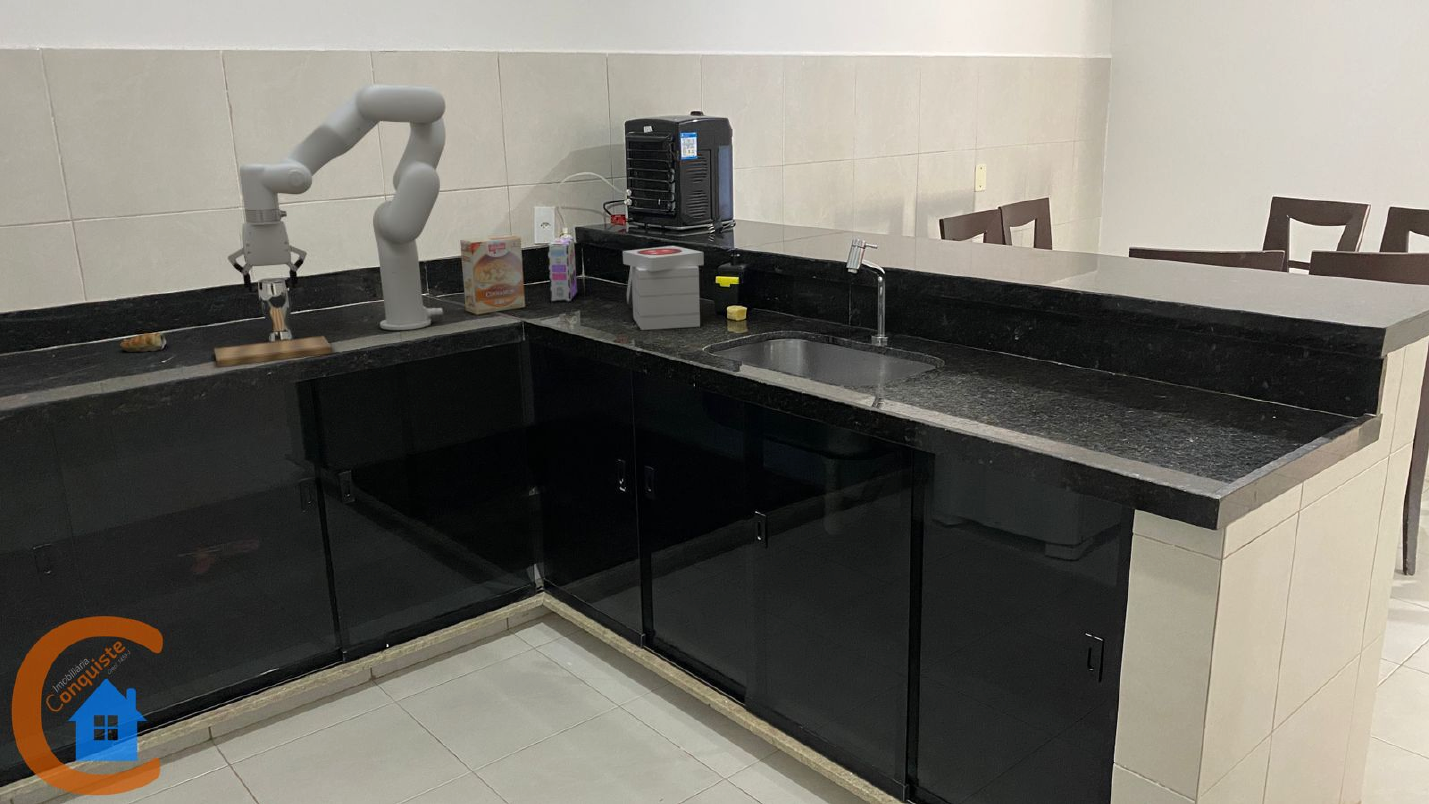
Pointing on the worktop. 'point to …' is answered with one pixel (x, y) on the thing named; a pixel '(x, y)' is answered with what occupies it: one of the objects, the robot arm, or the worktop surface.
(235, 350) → the serving board
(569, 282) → the candy box
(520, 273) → the coffeecake box
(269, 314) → the beer glass
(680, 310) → the pizza boxes
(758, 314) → the worktop surface
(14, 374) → the worktop surface
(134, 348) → the pastry
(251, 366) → the worktop surface
